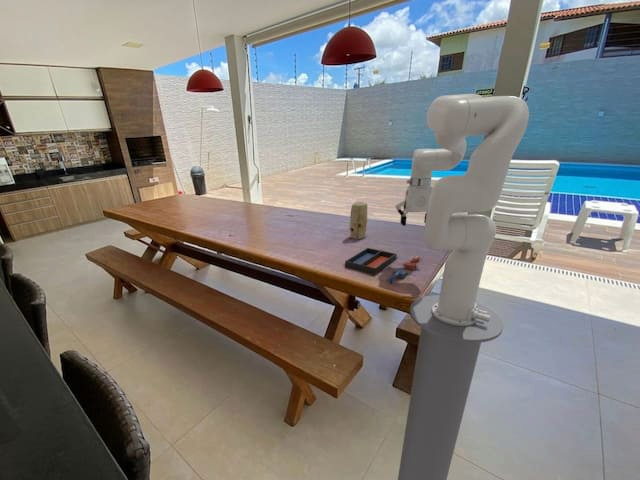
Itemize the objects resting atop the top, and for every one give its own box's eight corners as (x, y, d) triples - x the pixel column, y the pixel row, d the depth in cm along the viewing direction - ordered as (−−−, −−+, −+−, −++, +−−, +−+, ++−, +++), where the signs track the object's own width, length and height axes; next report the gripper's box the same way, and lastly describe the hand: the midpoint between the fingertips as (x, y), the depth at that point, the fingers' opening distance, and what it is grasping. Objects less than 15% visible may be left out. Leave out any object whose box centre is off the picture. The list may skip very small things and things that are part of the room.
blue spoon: (407, 275, 122) (407, 269, 121) (395, 285, 114) (395, 279, 113) (397, 272, 124) (397, 266, 123) (385, 282, 117) (385, 276, 116)
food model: (361, 235, 169) (363, 199, 161) (369, 239, 164) (372, 202, 155) (346, 239, 166) (348, 202, 157) (353, 242, 160) (355, 205, 152)
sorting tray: (396, 259, 137) (396, 253, 135) (375, 275, 123) (375, 268, 122) (367, 253, 145) (367, 247, 144) (345, 267, 132) (345, 261, 131)
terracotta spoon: (403, 268, 128) (403, 262, 127) (413, 259, 136) (414, 254, 135) (412, 270, 126) (413, 264, 125) (422, 261, 133) (423, 255, 132)
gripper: (401, 184, 117) (397, 228, 124) (447, 182, 117) (440, 225, 124) (394, 182, 124) (391, 223, 131) (437, 179, 124) (431, 220, 131)
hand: (414, 224), depth 127 cm, fingers open, 9 cm apart
